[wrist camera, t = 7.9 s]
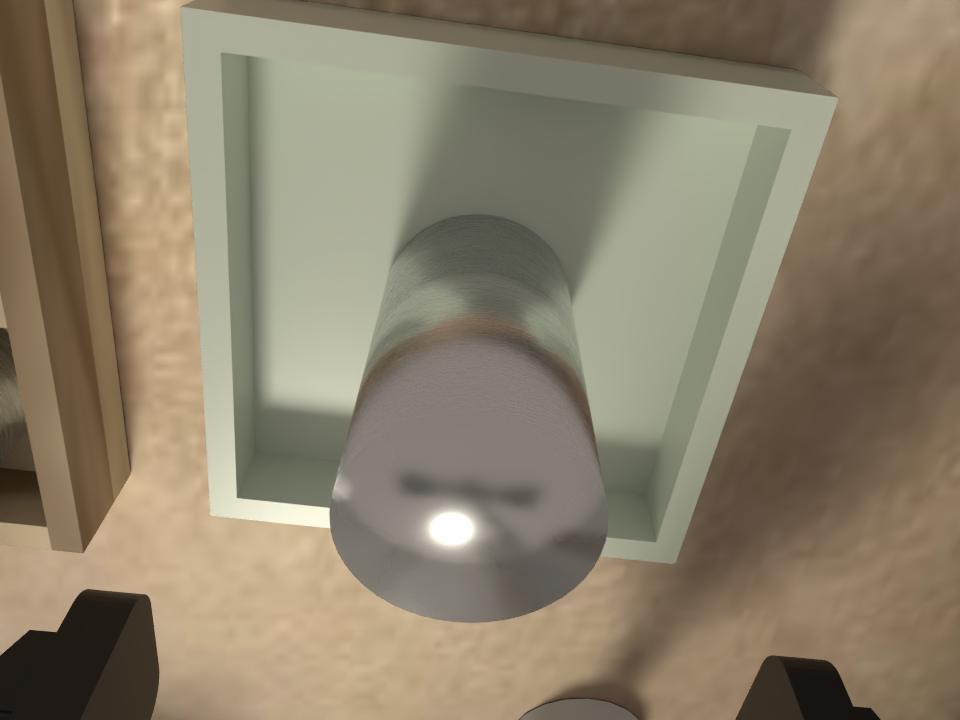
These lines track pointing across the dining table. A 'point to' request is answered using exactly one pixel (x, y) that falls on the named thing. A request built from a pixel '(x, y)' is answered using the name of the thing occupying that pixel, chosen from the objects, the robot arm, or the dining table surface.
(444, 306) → the cylinder
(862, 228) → the dining table surface
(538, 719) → the chalice
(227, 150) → the square tray frame
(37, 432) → the pocket board
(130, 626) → the robot arm
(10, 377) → the cylinder
